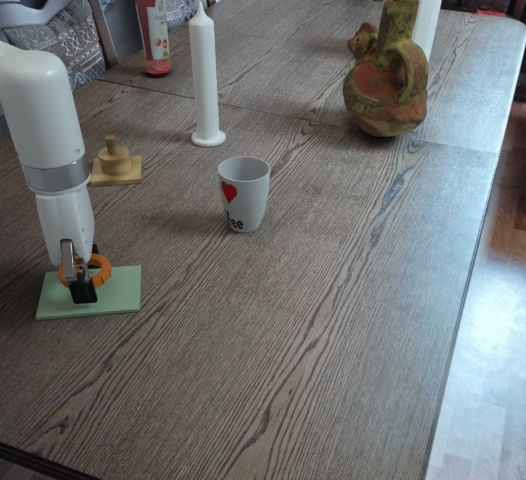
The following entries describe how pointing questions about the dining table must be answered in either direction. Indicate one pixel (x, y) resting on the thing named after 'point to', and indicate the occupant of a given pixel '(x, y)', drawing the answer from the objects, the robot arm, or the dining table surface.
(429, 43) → the container
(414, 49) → the ceramic vessel
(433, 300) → the dining table surface
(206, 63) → the candle
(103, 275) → the ring
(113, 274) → the mat
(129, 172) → the stand
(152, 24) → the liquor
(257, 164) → the cup
